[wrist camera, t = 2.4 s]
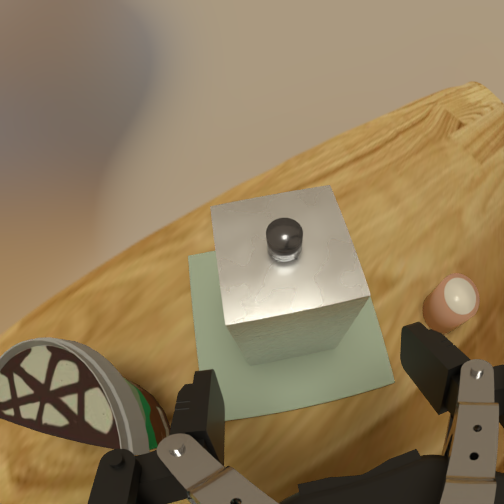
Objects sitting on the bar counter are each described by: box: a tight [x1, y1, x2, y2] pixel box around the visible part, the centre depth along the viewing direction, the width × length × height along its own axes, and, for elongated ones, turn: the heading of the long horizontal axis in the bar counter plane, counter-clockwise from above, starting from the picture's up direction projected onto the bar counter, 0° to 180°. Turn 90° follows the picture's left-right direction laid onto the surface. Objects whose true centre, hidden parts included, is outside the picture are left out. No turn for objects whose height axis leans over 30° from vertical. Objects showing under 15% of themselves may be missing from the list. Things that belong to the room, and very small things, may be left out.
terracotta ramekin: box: [423, 273, 479, 333], centre depth 21 cm, size 4×4×4 cm
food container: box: [0, 338, 171, 455], centre depth 18 cm, size 12×6×10 cm, turn 92°
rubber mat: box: [188, 251, 395, 421], centre depth 24 cm, size 14×14×1 cm
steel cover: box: [211, 185, 371, 366], centre depth 19 cm, size 6×6×12 cm
